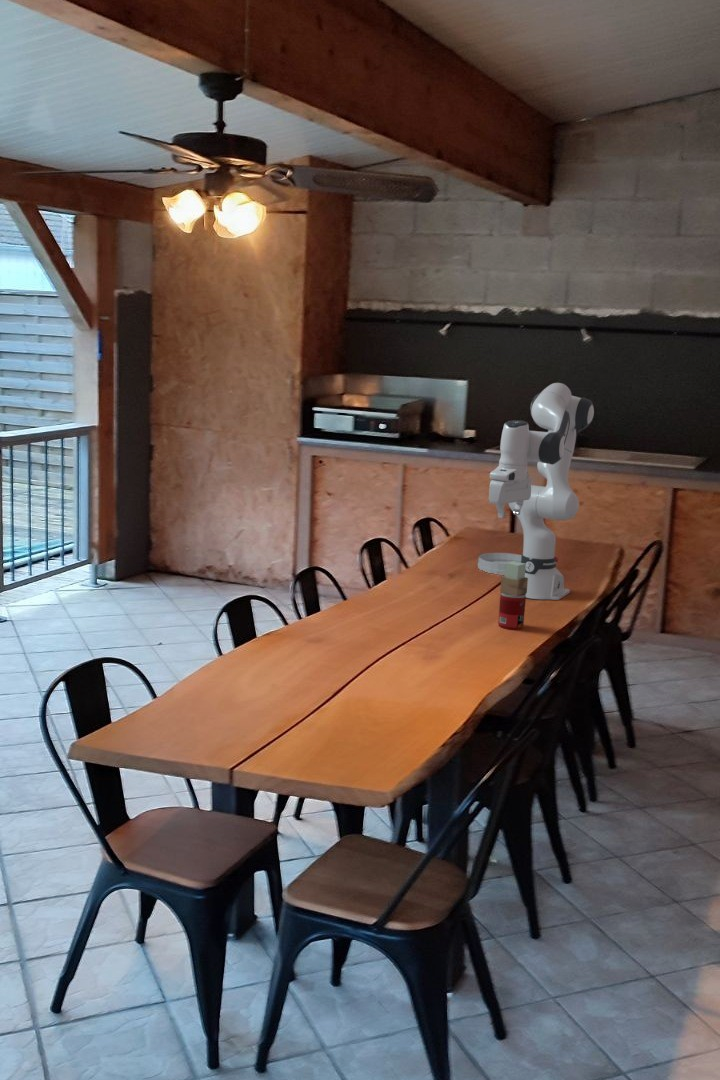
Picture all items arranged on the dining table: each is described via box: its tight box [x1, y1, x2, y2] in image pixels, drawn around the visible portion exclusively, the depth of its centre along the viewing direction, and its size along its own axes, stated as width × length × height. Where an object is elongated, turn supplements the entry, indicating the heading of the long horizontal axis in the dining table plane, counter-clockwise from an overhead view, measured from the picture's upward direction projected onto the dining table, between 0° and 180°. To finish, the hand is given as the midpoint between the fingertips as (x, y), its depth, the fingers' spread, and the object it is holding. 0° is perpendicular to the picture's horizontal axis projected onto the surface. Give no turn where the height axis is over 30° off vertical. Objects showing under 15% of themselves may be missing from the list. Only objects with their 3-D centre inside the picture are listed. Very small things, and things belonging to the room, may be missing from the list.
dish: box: [477, 552, 522, 576], centre depth 418 cm, size 22×22×5 cm
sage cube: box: [505, 561, 526, 580], centre depth 332 cm, size 4×4×4 cm
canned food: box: [497, 593, 527, 631], centre depth 335 cm, size 8×8×11 cm
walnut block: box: [499, 576, 528, 596], centre depth 333 cm, size 6×6×5 cm
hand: (509, 516), depth 336 cm, fingers open, 8 cm apart
